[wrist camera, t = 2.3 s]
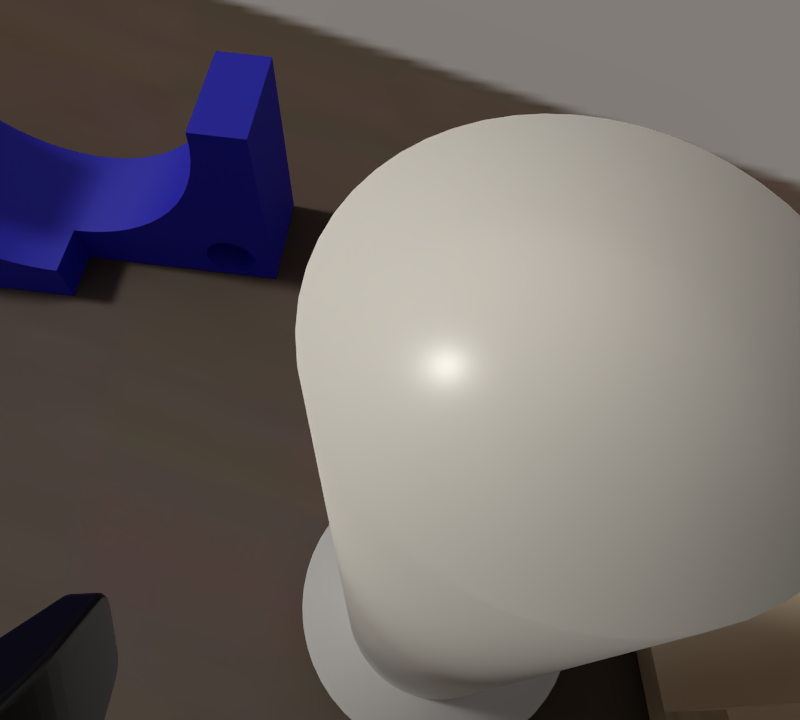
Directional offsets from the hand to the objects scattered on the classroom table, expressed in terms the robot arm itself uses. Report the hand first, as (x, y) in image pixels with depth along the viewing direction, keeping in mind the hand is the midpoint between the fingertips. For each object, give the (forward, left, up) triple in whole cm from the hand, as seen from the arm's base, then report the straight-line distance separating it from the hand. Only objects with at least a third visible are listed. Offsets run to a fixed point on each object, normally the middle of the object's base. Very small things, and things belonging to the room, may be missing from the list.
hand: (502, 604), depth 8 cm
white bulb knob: (+1, 0, -10) cm, 10 cm away
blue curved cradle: (+13, +10, -10) cm, 19 cm away
